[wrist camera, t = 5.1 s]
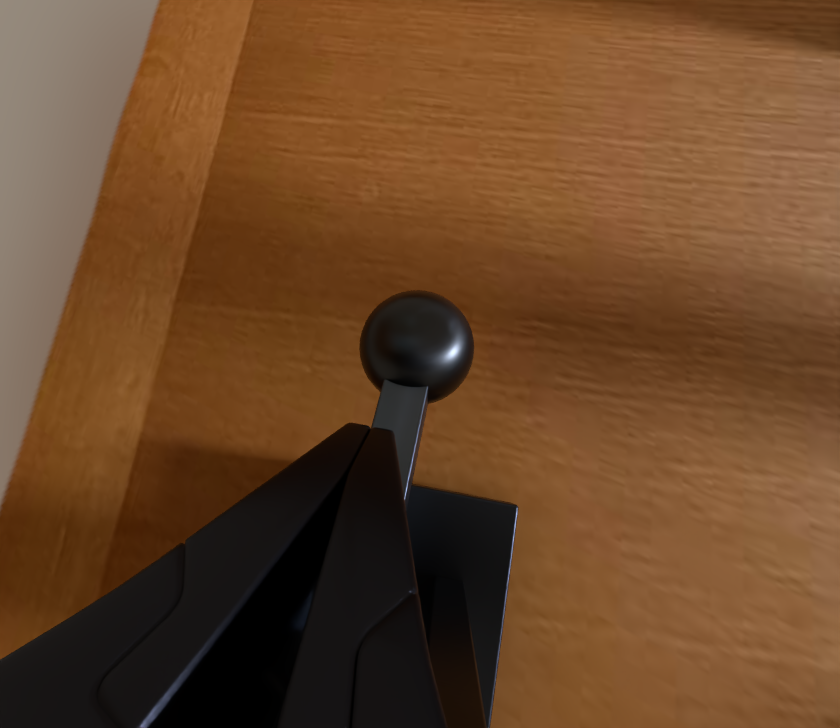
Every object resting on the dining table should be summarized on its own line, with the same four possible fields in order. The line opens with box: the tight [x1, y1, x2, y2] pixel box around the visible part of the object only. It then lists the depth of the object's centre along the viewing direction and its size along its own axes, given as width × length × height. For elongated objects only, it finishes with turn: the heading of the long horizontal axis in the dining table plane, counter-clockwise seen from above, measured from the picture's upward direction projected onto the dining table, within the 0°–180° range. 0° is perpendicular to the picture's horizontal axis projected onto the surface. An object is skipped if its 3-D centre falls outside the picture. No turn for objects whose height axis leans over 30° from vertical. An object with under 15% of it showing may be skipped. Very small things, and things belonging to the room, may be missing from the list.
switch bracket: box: [406, 484, 518, 728], centre depth 11 cm, size 10×8×11 cm
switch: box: [272, 290, 474, 728], centre depth 10 cm, size 12×3×3 cm, turn 169°
